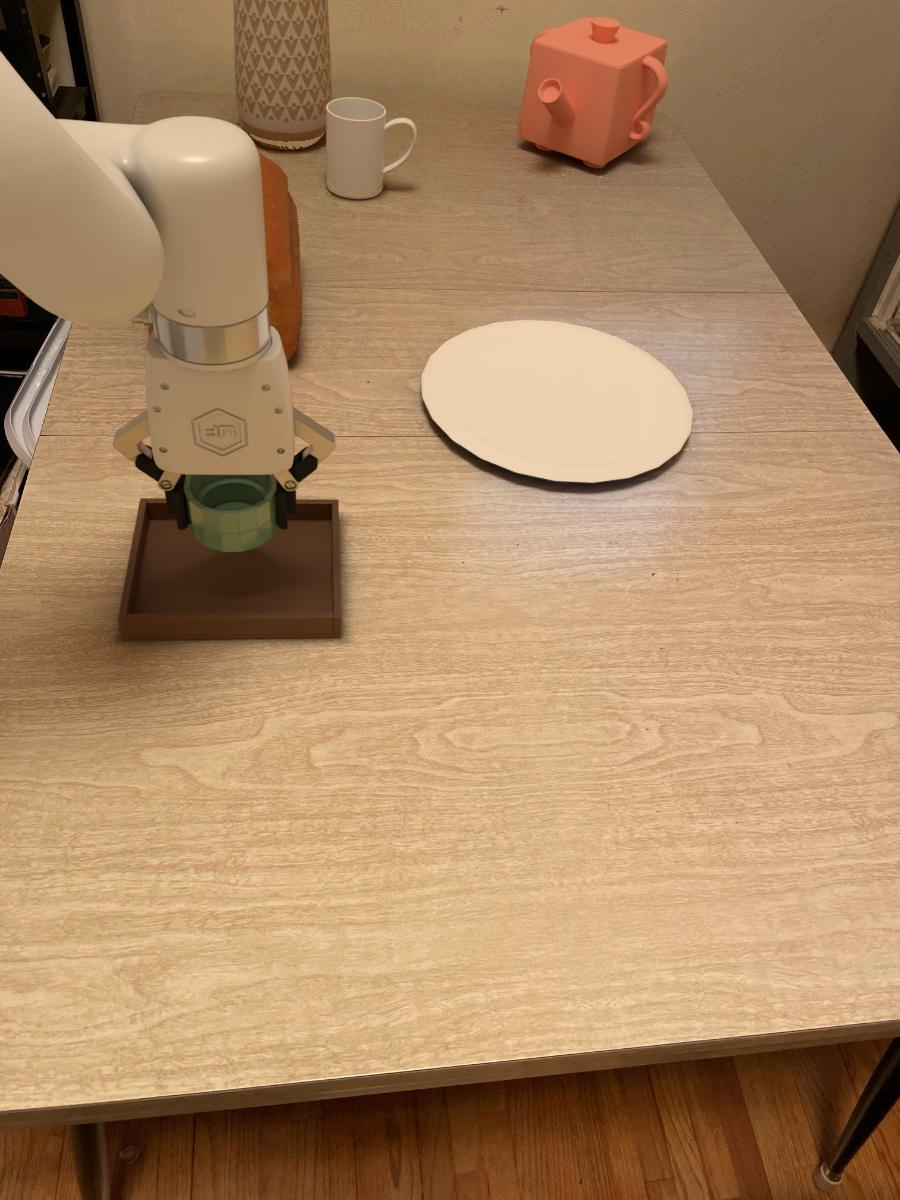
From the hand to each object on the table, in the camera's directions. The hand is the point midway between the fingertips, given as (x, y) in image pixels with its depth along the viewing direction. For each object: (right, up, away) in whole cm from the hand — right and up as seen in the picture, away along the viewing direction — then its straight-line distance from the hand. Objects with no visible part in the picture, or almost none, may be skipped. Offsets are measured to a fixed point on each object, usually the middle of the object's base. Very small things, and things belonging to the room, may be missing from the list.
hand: (234, 516), depth 77 cm
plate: (+29, +14, +26) cm, 41 cm away
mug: (+6, +51, +58) cm, 77 cm away
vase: (-7, +62, +67) cm, 92 cm away
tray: (-1, -5, +5) cm, 7 cm away
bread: (-8, +27, +33) cm, 43 cm away
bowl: (0, -1, +1) cm, 1 cm away
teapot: (+36, +63, +72) cm, 103 cm away
